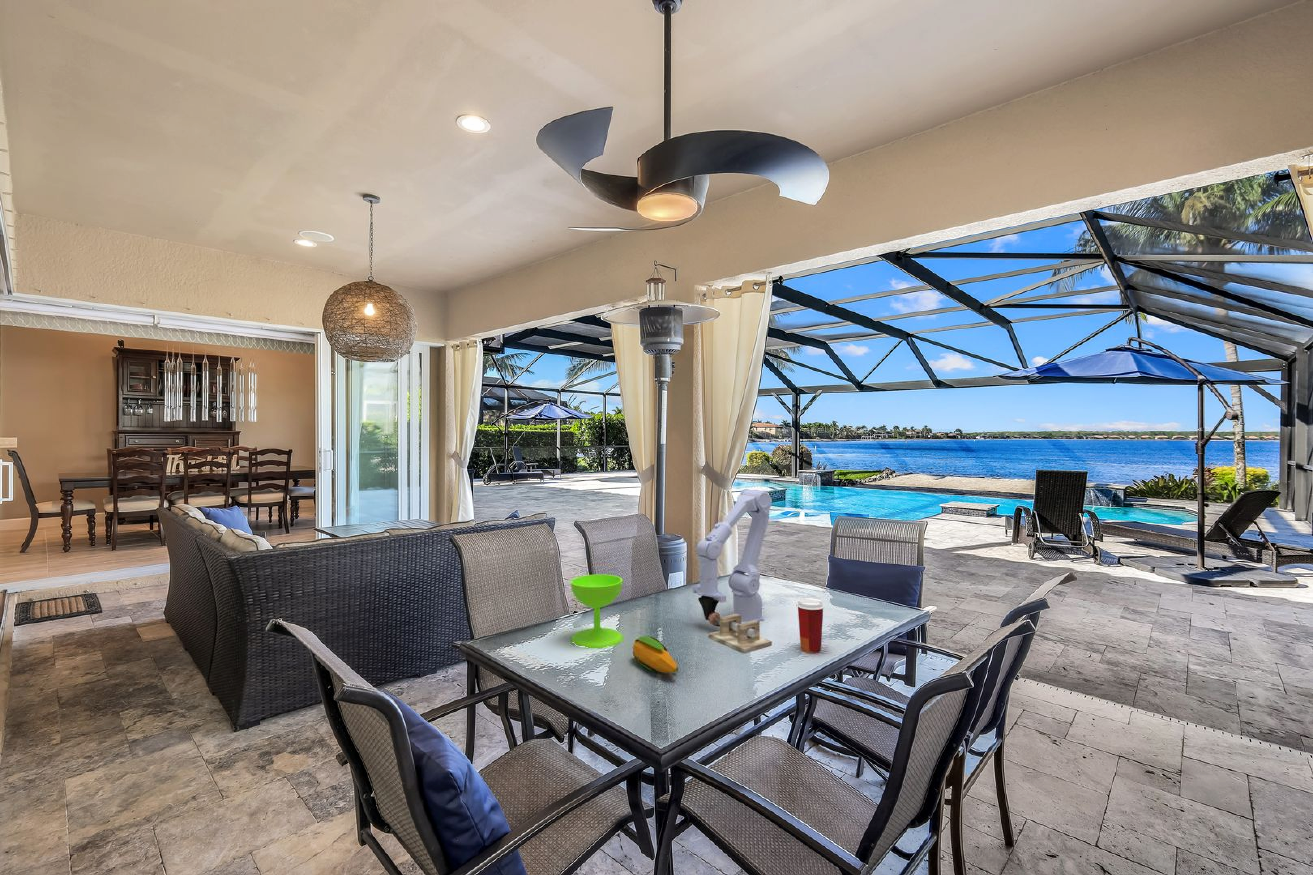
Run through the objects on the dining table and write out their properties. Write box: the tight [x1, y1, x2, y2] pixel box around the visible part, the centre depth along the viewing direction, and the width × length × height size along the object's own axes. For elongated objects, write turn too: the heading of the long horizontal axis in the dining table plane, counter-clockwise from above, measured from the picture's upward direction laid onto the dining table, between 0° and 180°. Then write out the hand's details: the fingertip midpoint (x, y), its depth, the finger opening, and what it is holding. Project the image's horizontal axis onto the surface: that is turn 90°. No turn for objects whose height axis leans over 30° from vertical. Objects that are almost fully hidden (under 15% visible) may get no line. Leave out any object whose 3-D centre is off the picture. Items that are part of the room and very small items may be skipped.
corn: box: [632, 635, 679, 674], centre depth 151 cm, size 7×8×20 cm
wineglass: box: [570, 573, 624, 649], centre depth 174 cm, size 16×16×18 cm
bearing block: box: [707, 614, 773, 654], centre depth 171 cm, size 16×11×6 cm
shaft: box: [708, 611, 756, 638], centre depth 174 cm, size 18×4×4 cm, turn 34°
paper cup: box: [796, 597, 825, 654], centre depth 164 cm, size 8×8×14 cm
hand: (709, 619), depth 183 cm, fingers closed
